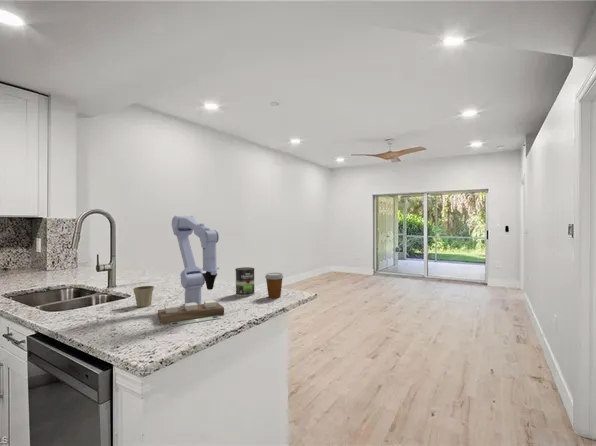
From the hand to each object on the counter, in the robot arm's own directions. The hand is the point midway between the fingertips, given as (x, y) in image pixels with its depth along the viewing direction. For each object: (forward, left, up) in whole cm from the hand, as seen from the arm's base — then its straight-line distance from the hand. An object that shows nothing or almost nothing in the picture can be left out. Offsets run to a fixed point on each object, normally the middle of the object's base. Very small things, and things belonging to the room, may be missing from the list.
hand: (209, 289), depth 144 cm
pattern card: (+8, -8, -10) cm, 16 cm away
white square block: (0, 0, -9) cm, 9 cm away
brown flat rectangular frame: (0, -8, -10) cm, 13 cm away
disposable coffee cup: (-13, +37, -11) cm, 41 cm away
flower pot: (-30, -24, -11) cm, 40 cm away
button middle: (0, -8, -9) cm, 12 cm away
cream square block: (0, -16, -9) cm, 18 cm away
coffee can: (-27, +26, -11) cm, 39 cm away
